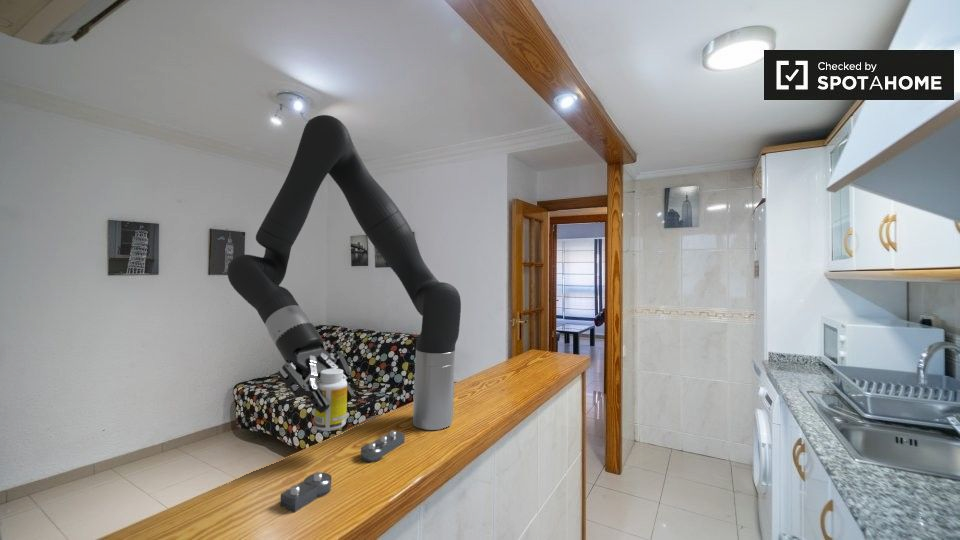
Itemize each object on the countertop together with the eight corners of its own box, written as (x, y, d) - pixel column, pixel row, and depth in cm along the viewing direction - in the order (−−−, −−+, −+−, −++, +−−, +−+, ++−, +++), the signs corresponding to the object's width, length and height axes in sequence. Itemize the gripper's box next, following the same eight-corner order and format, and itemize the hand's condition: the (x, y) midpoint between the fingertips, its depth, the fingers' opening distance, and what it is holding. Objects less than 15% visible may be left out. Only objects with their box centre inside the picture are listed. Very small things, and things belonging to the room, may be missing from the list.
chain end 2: (390, 438, 82) (391, 426, 82) (406, 442, 80) (407, 430, 80) (355, 459, 72) (356, 445, 72) (373, 464, 70) (373, 449, 70)
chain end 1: (317, 481, 64) (318, 465, 64) (336, 488, 62) (337, 471, 62) (277, 505, 57) (278, 487, 57) (297, 513, 55) (298, 494, 55)
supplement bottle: (349, 420, 75) (351, 367, 75) (341, 432, 70) (343, 374, 70) (319, 420, 75) (321, 367, 75) (309, 432, 69) (311, 374, 69)
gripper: (271, 325, 69) (319, 404, 64) (332, 318, 82) (376, 382, 77) (250, 352, 71) (294, 430, 66) (313, 340, 84) (354, 405, 79)
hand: (338, 404), depth 71 cm, fingers closed on supplement bottle, 5 cm apart
